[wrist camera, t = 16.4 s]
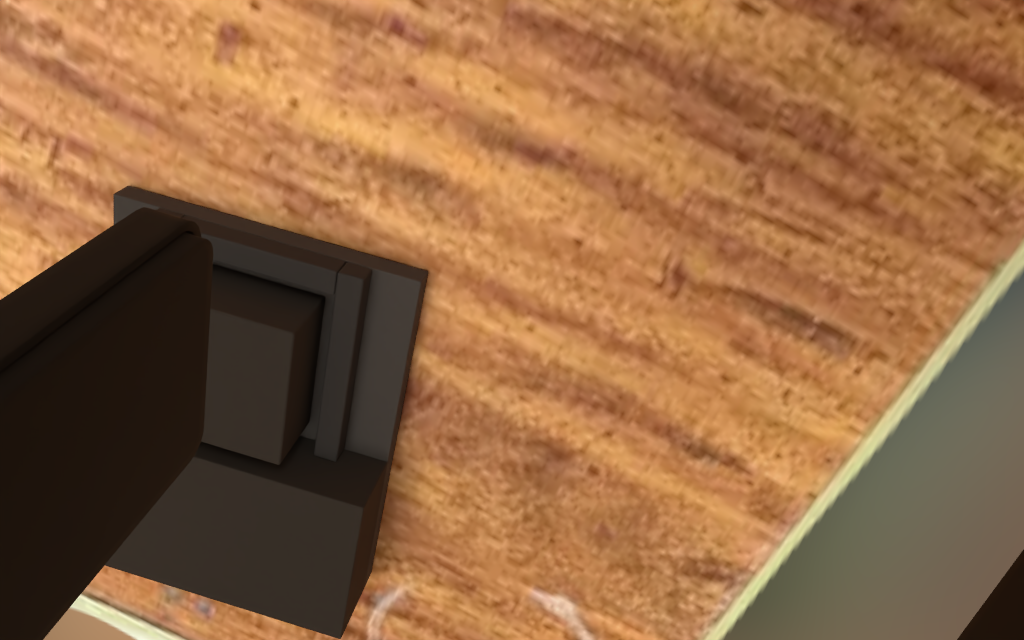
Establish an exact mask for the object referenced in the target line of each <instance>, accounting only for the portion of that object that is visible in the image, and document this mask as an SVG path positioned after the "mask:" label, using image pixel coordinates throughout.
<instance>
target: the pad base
mask: <svg viewBox="0 0 1024 640" xmlns="http://www.w3.org/2000/svg"><path fill="white" fill-rule="evenodd" d="M143 207H146V208H151V209H154V210H157V211H161V212H164V213H167V214H171V215H174V216H177V217H181V218H184V219H187V220H190V221H194V222H195V223H196V224H197V225H198V226H199V229H200V232H201V237H202V238H205V239H208V240H209V241H210V242H211V243H212V246H213V264H214V265H217V266H221V267H224V268H228V269H231V270H234V271H238V272H241V273H245V274H248V275H252V276H255V277H259V278H262V279H266V280H269V281H272V282H276V283H279V284H283V285H286V286H290V287H293V288H297V289H300V290H303V291H307V292H310V293H314V294H317V295H321V296H324V297H325V303H324V311H323V319H322V327H321V335H320V343H319V351H318V359H317V367H316V374H315V382H314V390H313V398H312V406H311V414H310V422H309V423H308V425H307V426H306V427H305V429H304V430H303V432H302V433H301V435H300V436H299V438H298V439H297V441H296V442H295V443H294V445H293V446H292V448H291V449H290V451H289V452H288V454H287V455H286V457H285V458H284V459H283V461H282V462H281V464H280V465H277V464H274V463H270V462H267V461H264V460H261V459H257V458H254V457H251V456H247V455H244V454H241V453H237V452H234V451H231V450H227V449H224V448H221V447H218V446H214V445H211V444H208V443H204V442H201V443H200V445H199V448H198V450H197V452H196V454H195V456H194V457H193V458H192V460H191V461H190V463H189V464H188V465H187V466H186V467H185V469H184V470H183V471H182V472H181V473H180V475H179V476H178V477H177V478H176V479H175V481H174V482H173V483H172V484H171V485H170V487H169V488H168V489H167V490H166V491H165V493H164V494H163V495H162V496H161V498H160V499H159V500H158V501H157V502H156V504H155V505H154V506H153V507H152V508H151V510H150V511H149V512H148V513H147V514H146V516H145V517H144V518H143V519H142V520H141V522H140V523H139V524H138V525H137V527H136V528H135V529H134V530H133V531H132V533H131V534H130V535H129V536H128V537H127V539H126V540H125V541H124V542H123V543H122V545H121V546H120V547H119V548H118V549H117V551H116V552H115V553H114V554H113V556H112V557H111V558H110V559H109V560H108V562H107V563H106V564H105V565H106V566H109V567H112V568H115V569H118V570H121V571H125V572H128V573H131V574H134V575H137V576H141V577H144V578H147V579H150V580H153V581H157V582H160V583H163V584H166V585H169V586H172V587H176V588H179V589H182V590H185V591H188V592H192V593H195V594H198V595H201V596H204V597H208V598H211V599H214V600H217V601H220V602H224V603H227V604H230V605H233V606H236V607H239V608H243V609H246V610H249V611H252V612H255V613H259V614H262V615H265V616H268V617H271V618H275V619H278V620H281V621H284V622H287V623H290V624H294V625H297V626H300V627H303V628H306V629H310V630H313V631H316V632H319V633H322V634H326V635H329V636H332V637H335V638H338V639H341V637H342V635H343V633H344V631H345V629H346V626H347V624H348V622H349V620H350V618H351V616H352V613H353V611H354V609H355V607H356V605H357V602H358V600H359V598H360V596H361V594H362V591H363V589H364V587H365V585H366V583H367V581H368V578H369V576H370V574H371V571H372V565H373V560H374V555H375V549H376V544H377V539H378V534H379V528H380V523H381V518H382V513H383V507H384V502H385V497H386V492H387V486H388V481H389V476H390V471H391V465H392V460H393V455H394V450H395V444H396V439H397V434H398V429H399V423H400V418H401V413H402V408H403V402H404V397H405V392H406V387H407V381H408V376H409V371H410V365H411V360H412V355H413V350H414V344H415V339H416V334H417V329H418V323H419V318H420V313H421V308H422V302H423V297H424V292H425V287H426V281H427V276H428V271H425V270H422V269H418V268H415V267H411V266H408V265H404V264H401V263H397V262H394V261H390V260H387V259H383V258H380V257H376V256H373V255H369V254H366V253H362V252H359V251H355V250H352V249H348V248H345V247H341V246H338V245H334V244H331V243H327V242H324V241H320V240H317V239H313V238H310V237H306V236H303V235H299V234H296V233H292V232H289V231H285V230H282V229H278V228H275V227H271V226H268V225H264V224H261V223H257V222H254V221H250V220H247V219H243V218H240V217H236V216H233V215H229V214H226V213H222V212H219V211H215V210H212V209H208V208H205V207H201V206H198V205H194V204H191V203H187V202H184V201H180V200H177V199H173V198H170V197H166V196H163V195H159V194H156V193H152V192H149V191H145V190H142V189H138V188H135V187H131V186H127V187H125V188H123V189H122V190H120V191H118V192H117V193H115V194H114V225H115V224H116V223H118V222H119V221H121V220H122V219H124V218H125V217H127V216H128V215H130V214H131V213H133V212H134V211H136V210H138V209H140V208H143Z"/></svg>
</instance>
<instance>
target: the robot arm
mask: <svg viewBox="0 0 1024 640" xmlns="http://www.w3.org/2000/svg"><path fill="white" fill-rule="evenodd" d="M212 269H213V246H212V243H211V242H210V241H209V240H208V239H205V238H202V237H201V232H200V229H199V226H198V225H197V224H196V223H195V222H194V221H190V220H187V219H184V218H181V217H177V216H174V215H171V214H167V213H164V212H161V211H157V210H154V209H151V208H146V207H143V208H140V209H138V210H136V211H134V212H133V213H131V214H130V215H128V216H127V217H125V218H124V219H122V220H121V221H119V222H118V223H116V224H115V225H113V226H112V227H110V228H109V229H107V230H106V231H104V232H103V233H101V234H100V235H98V236H97V237H95V238H93V239H92V240H90V241H89V242H87V243H86V244H84V245H83V246H81V247H80V248H78V249H77V250H75V251H74V252H72V253H71V254H69V255H68V256H66V257H65V258H63V259H62V260H60V261H59V262H57V263H56V264H54V265H53V266H51V267H50V268H48V269H47V270H45V271H44V272H42V273H41V274H39V275H38V276H36V277H35V278H33V279H32V280H30V281H29V282H27V283H25V284H24V285H22V286H21V287H19V288H18V289H16V290H15V291H13V292H12V293H10V294H9V295H7V296H6V297H4V298H3V299H1V300H0V640H43V639H44V638H45V636H46V635H47V634H48V633H49V632H50V630H51V629H52V628H53V627H54V626H55V624H56V623H57V622H58V621H59V620H60V618H61V617H62V616H63V615H64V613H65V612H66V611H67V610H68V609H69V607H70V606H71V605H72V604H73V603H74V601H75V600H76V599H77V598H78V597H79V595H80V594H81V593H82V592H83V591H84V589H85V588H86V587H87V586H88V585H89V583H90V582H91V581H92V580H93V578H94V577H95V576H96V575H97V574H98V572H99V571H100V570H101V569H102V568H103V566H104V565H105V564H106V563H107V562H108V560H109V559H110V558H111V557H112V556H113V554H114V553H115V552H116V551H117V549H118V548H119V547H120V546H121V545H122V543H123V542H124V541H125V540H126V539H127V537H128V536H129V535H130V534H131V533H132V531H133V530H134V529H135V528H136V527H137V525H138V524H139V523H140V522H141V520H142V519H143V518H144V517H145V516H146V514H147V513H148V512H149V511H150V510H151V508H152V507H153V506H154V505H155V504H156V502H157V501H158V500H159V499H160V498H161V496H162V495H163V494H164V493H165V491H166V490H167V489H168V488H169V487H170V485H171V484H172V483H173V482H174V481H175V479H176V478H177V477H178V476H179V475H180V473H181V472H182V471H183V470H184V469H185V467H186V466H187V465H188V464H189V463H190V461H191V460H192V458H193V457H194V456H195V454H196V452H197V450H198V448H199V445H200V443H201V440H202V436H203V431H204V419H205V400H206V381H207V363H208V344H209V325H210V306H211V288H212ZM957 640H1024V550H1023V551H1022V553H1021V554H1020V555H1019V557H1018V558H1017V559H1016V561H1015V562H1014V563H1013V565H1012V566H1011V567H1010V569H1009V570H1008V571H1007V573H1006V574H1005V576H1004V577H1003V578H1002V580H1001V581H1000V582H999V584H998V585H997V587H996V588H995V589H994V590H993V592H992V593H991V594H990V596H989V597H988V599H987V600H986V601H985V603H984V604H983V605H982V607H981V608H980V609H979V611H978V612H977V613H976V615H975V616H974V617H973V619H972V620H971V622H970V623H969V624H968V626H967V627H966V628H965V630H964V631H963V632H962V634H961V635H960V637H959V638H958V639H957Z"/></svg>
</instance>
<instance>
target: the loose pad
mask: <svg viewBox="0 0 1024 640" xmlns="http://www.w3.org/2000/svg"><path fill="white" fill-rule="evenodd" d="M324 303H325V297H324V296H321V295H317V294H314V293H310V292H307V291H303V290H300V289H297V288H293V287H290V286H286V285H283V284H279V283H276V282H272V281H269V280H266V279H262V278H259V277H255V276H252V275H248V274H245V273H241V272H238V271H234V270H231V269H228V268H224V267H221V266H217V265H214V264H213V269H212V288H211V306H210V325H209V344H208V363H207V381H206V400H205V419H204V431H203V436H202V440H201V442H204V443H208V444H211V445H214V446H218V447H221V448H224V449H227V450H231V451H234V452H237V453H241V454H244V455H247V456H251V457H254V458H257V459H261V460H264V461H267V462H270V463H274V464H277V465H280V464H281V462H282V461H283V459H284V458H285V457H286V455H287V454H288V452H289V451H290V449H291V448H292V446H293V445H294V443H295V442H296V441H297V439H298V438H299V436H300V435H301V433H302V432H303V430H304V429H305V427H306V426H307V425H308V423H309V422H310V414H311V406H312V398H313V390H314V382H315V374H316V367H317V359H318V351H319V343H320V335H321V327H322V319H323V311H324Z"/></svg>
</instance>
